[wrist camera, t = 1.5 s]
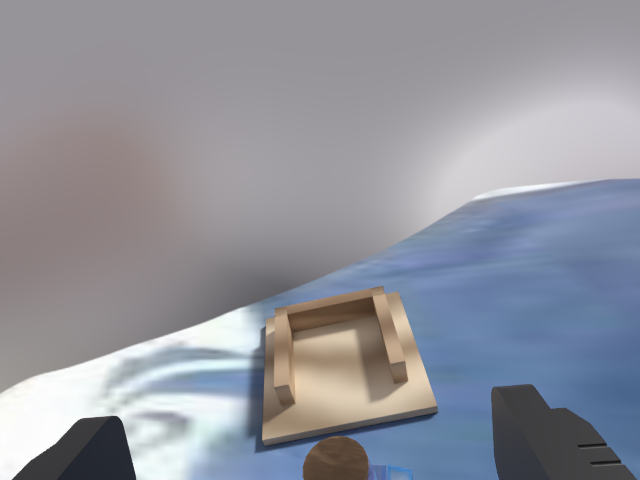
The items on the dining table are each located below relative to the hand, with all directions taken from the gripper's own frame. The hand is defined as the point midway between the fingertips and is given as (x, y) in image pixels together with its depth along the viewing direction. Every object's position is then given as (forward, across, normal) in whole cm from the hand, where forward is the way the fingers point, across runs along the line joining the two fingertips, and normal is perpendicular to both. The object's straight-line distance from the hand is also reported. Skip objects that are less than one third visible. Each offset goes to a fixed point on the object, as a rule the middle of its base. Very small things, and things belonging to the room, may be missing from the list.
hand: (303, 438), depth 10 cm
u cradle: (+30, +1, +14) cm, 33 cm away
